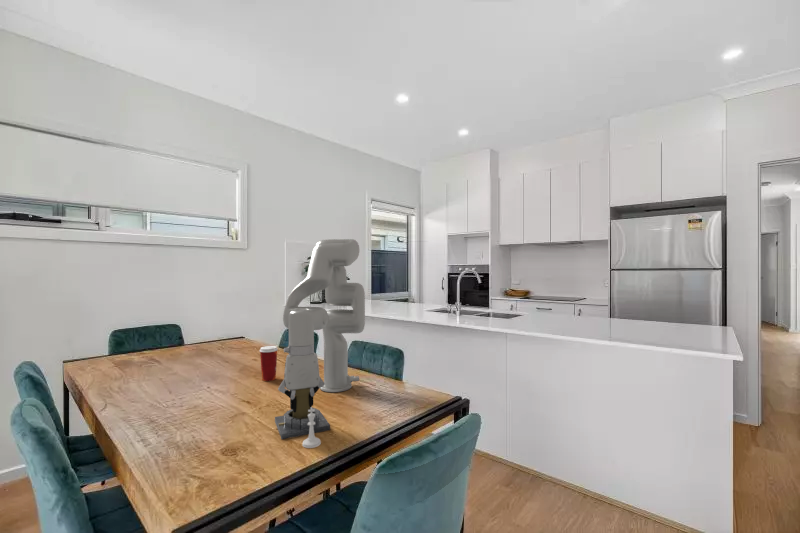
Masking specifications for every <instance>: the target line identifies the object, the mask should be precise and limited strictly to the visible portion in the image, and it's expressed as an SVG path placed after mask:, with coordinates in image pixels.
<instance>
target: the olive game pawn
mask: <svg viewBox="0 0 800 533" xmlns="http://www.w3.org/2000/svg"><path fill="white" fill-rule="evenodd" d="M309 393H310V388H306V389H299V390H296V391H295V399H296V412H295V413H294V412H293V418H304V417H308V414H310V413H311V412H308V410H310V406H309Z"/></svg>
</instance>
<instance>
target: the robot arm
mask: <svg viewBox="0 0 800 533" xmlns="http://www.w3.org/2000/svg"><path fill="white" fill-rule="evenodd" d="M359 256H360V245H359V242H358V241H357V240H356V239H353V238H352V239H351V238H347V239H346V238H345V239H339V238H337V239H336V238H335V239H334V238H333V239H332V238H331V239H329V238H327V239H322V240H319V241H317V242H316V244H315V246H314V247H313V249H312V251H311V256H310V260H309V264H308V268H307V273H306V277H305V278H304V279H303V280H302V281H300V283H299V284H297V285H296V286H295V287H294V288H293V290H292V291H291V292H290V293H289V294H288V296H287V299H286V303H285V306H284V310H283V317H282V321H283V325H284V327H285V328H286V329H288V346H287V347H284V348H283V353H288V354H286V357H285V358H286V359H285V362H284V363H285V364H284V375H283V376H284V377H283V380H282V381H281V382H280V384H279V386H278V388H277V391H278V392H280V393H282V394H285V395H286V397H288V398H290V399H289V401H290V402H289V403H290V406H289V407H290V410H291V409H292V410H293V412H294V413H295V412H296V399H295V391H296V390H299V389H306V388H310V393H309V406H310V410H311V407H312V408H313V406H314V396H315V394H316V393H317V392H318V391H319V390H321V391H323V392H326V393H340V392H345V391H348V390H350V389H351V388H352V383H353V382H359V381H360V376H359V375H357V376H355V375H349V374H348V371H349V370H348V369H349V367H348V366H349V364H348V358H349V356H348V351H349V350H348V345H349V344H348V341H347V340H346V338H345V337H344V335H343V334H361V333H362V332H363V331H364V330H365V327H366V326H365V324H366V295H365V293H366V292H365V288H364V286H363V285H362V283H359V282H348V281H347V269H346V267H348V266H351V265H352V264H353V263H355V262H356V261H357V259H358V257H359ZM323 290H324V292H325V295H324V296H325V302H326V304H327V305H328V306H333V307H351V308H352V309H342V308H341V309H336V308H335V309H328V310H327V309H325V308H324V307H322V306H300V304H301V302H302V301H303V300H305V299H306V298H308V297H309V296H313V295H314V294H316V293H319V292H321V291H323ZM319 330H322V335H323V336H322V337H323V379H322V378H321V376H320V366H319V360H318V358H319V357H318V354H317V353H316V352H315V331H319Z"/></svg>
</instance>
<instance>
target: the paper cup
mask: <svg viewBox="0 0 800 533" xmlns="http://www.w3.org/2000/svg"><path fill="white" fill-rule="evenodd" d="M278 350H279V349H278V346H275V345H267V346H266V345H265V346H261V347H260V349H259V353H260V354H259V355H260V367H261V368H260V369H261V380H262V381H263V382H272V381H275V380H276V377H277V359H278Z"/></svg>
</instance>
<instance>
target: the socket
mask: <svg viewBox="0 0 800 533" xmlns="http://www.w3.org/2000/svg"><path fill="white" fill-rule="evenodd" d="M314 409H315V411H314V412H312V413H314V414H315V417H314V422H315V425H313V427H314V434H317V433H322V432H328V431H331V424H330V423H329V421H328V419H326V417H325V416H324V414H323V413H322V411H321V410H320V409H318V408H315V407H312V410H314ZM308 422H310V421H309V418H308V417H304V418H293V410H292V409H291V408H290V409H288V410H287V411H286V412H285V413H284V414H283V415H280V416H279V415H278V416H274V423H275V426H276V429H277V430H278V433H279V436H280V438H281V440H286V439H292V438H296V437H301V436H307V435H309V429H310V425H308Z"/></svg>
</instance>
